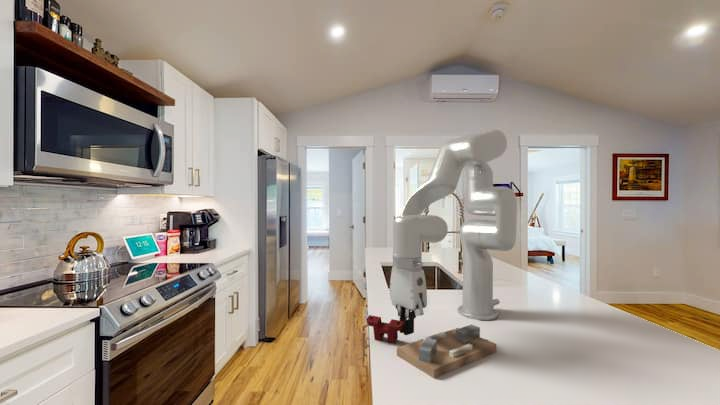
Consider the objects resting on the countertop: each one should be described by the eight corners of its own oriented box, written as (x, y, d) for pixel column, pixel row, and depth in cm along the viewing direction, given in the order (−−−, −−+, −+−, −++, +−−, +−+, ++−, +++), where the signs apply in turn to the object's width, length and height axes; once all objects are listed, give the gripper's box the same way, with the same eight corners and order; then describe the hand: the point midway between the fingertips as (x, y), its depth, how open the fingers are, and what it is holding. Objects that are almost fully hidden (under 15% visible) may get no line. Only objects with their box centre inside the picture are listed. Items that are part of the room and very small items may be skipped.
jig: (457, 335, 88) (457, 318, 88) (496, 352, 78) (496, 333, 78) (396, 355, 76) (396, 337, 76) (433, 379, 66) (433, 357, 66)
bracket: (400, 328, 80) (365, 321, 84) (402, 347, 81) (367, 339, 86) (404, 321, 82) (369, 315, 87) (405, 339, 84) (371, 332, 88)
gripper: (438, 266, 79) (438, 340, 79) (399, 257, 92) (398, 320, 92) (416, 269, 75) (416, 347, 75) (378, 260, 88) (377, 326, 87)
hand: (406, 332), depth 83 cm, fingers closed on bracket
